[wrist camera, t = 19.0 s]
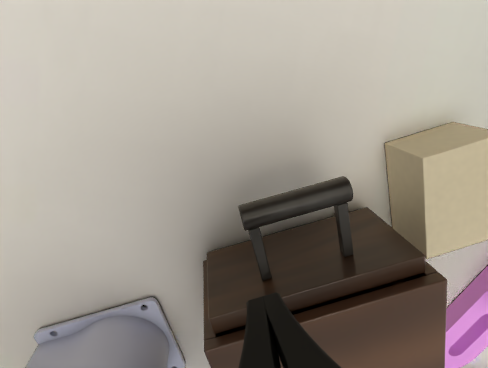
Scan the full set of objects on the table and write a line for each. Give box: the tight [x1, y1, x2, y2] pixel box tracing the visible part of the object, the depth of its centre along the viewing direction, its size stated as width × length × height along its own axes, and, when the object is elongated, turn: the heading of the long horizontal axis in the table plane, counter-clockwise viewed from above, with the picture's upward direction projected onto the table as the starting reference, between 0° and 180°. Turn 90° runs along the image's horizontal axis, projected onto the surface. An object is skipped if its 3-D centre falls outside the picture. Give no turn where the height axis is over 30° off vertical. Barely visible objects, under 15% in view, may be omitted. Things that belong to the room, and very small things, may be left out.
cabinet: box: [203, 260, 447, 368], centre depth 22 cm, size 14×13×8 cm
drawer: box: [207, 176, 425, 334], centre depth 20 cm, size 18×12×6 cm, turn 13°
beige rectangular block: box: [385, 122, 488, 259], centre depth 21 cm, size 5×8×4 cm
